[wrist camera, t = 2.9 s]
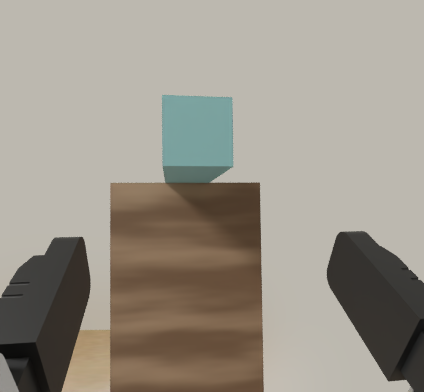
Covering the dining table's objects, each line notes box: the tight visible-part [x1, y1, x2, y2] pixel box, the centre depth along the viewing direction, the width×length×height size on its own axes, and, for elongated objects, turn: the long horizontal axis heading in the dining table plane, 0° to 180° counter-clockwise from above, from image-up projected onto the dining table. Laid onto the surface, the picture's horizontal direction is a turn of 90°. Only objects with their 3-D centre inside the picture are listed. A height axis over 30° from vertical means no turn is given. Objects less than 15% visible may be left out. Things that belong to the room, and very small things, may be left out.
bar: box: [162, 95, 233, 183], centre depth 29 cm, size 26×4×4 cm, turn 8°
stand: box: [110, 183, 264, 392], centre depth 33 cm, size 18×14×32 cm
